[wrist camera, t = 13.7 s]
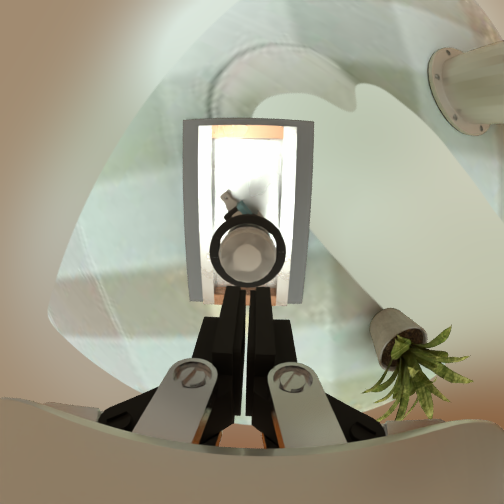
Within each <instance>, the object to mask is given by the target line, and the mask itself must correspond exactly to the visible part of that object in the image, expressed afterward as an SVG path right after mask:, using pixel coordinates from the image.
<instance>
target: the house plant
mask: <svg viewBox="0 0 504 504" xmlns="http://www.w3.org/2000/svg"><path fill="white" fill-rule="evenodd" d="M450 331H451V327H449V328H447V329H445V330H444V331H443V332H442V333H441V334H439V335H438V336H437V337H436V338H435V339H433V340H432V341H431V342H429V343H427V333H426V331H425V330H424V329H423V328H422V327H420V326H419V325H418V324H416V323H415V322H414V321H413V320H411V319H410V318H409V317H407V316H406V315H404V314H403V313H402V312H401V311H399V310H397V309H394V308H387V309H384V310H382V311H380V312H379V313H378V314H376V316H375V317H374V318H373V319H372V321H371V324H370V333H371V337H372V340H373V343H374V347H375V350H376V354H377V357H378V361H379V364H380V366H381V367H382V368H383V369H384V370H386V371H385V372H384V374H383V375H382V377H381V378H380V380H379V381H378V382H377V383H376V384H375V385H374V386H373V387H372V388H371V389H369V390H366V391H364V392H363V393H367V392H370V391H371V392H380V391H383V390H385V389H386V388H387V387H388V386H390V385H391V384H392V382H393V381H394V380H395V378H396V376H397V374H398V376H397V380H396V383H395V385H394V387H393V389H392V390H391V391H390V392H389V394H388V395H387V396H385V397H384V398H382V399H380V400H378V401H376V402H375V403H378V402H382V401H384V400H386V399H388V398H389V397H390V396H391V395H392V394H393V399H396V401H395V402H394V404H393V405H392V406H391V408H390V409H389V410H388V411H387V412H386V413H385V414H384V415H383V416H382V417H380V418H379V419H377V421H378V422H379V421H381V420H383V419H385V418H386V417H387V416H389V415H390V414H391V413H392V412H393V411H394V409H395V408H396V406H397V405H398V403H399V402H400V405H399V409H398V412H397V416H396V418H395V420H394V421H402V420H403V419H404V418H405V417H406V415H407V414H408V413H409V412H410V411H411V410H412V409H413V407H414V406H415V405H416V403H417V401H418V400H419V403H420V405H421V407H422V409H423V410H424V412H425V414H426V415H427V417H428V418H429V419H432V416H433V401H432V397H431V393H433V394H434V395H436V396H438V397H439V398H441V399H442V400H444V401H448V402H450V401H449V400H448V399H447V398H446V397H445V396H443V395H442V394H441V393H440V392H439V390H438V389H436V387H435V386H434V385H433V384H432V383H433V382H432V381H430V380H429V379H428V378H427V376H426V375H425V374H424V373H423V372H422V369H421V367H420V365H419V364H421V365H422V366H424V367H426V368H428V369H430V370H431V371H433V372H434V373H435V374H437V375H438V376H440V377H442V378H443V379H445V380H447V381H449V382H451V383H470V382H473V381H472V380H470V379H468V378H465V377H463V376H461V375H459V374H457V373H455V372H453V371H452V370H450V369H449V368H448V367H446V366H445V365H443V364H441V362H443V363H453V362H459V361H462V360H464V359H466V358H468V357H469V356H464V357H460V358H458V357H448V353H447V352H445V351H435V350H429V349H426V348H431V347H435V346H437V345H439V344H441V343H443V342H444V341H445V340H446V339H447V338H448V336H449V334H450ZM388 371H394V373H393V374H392V376H391V377H390V378H389V379H388V380H387V381H386V382H384V383H383V384H381V382H382V381H383V379H384V378H385V376H386V374H387V372H388ZM435 381H436V379H435V380H434V382H435ZM380 384H381V385H380ZM415 391H416V394H417V399H416V401H415V403H414V405H413V406H412V407H411V409H410V410H409V412H408V413H407V414H406V415H405V412H406V409H407V405H408V401H409V396H411V395H413V394H414V393H415ZM393 392H394V393H393ZM361 394H362V393H361ZM404 415H405V417H404Z"/></svg>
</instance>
